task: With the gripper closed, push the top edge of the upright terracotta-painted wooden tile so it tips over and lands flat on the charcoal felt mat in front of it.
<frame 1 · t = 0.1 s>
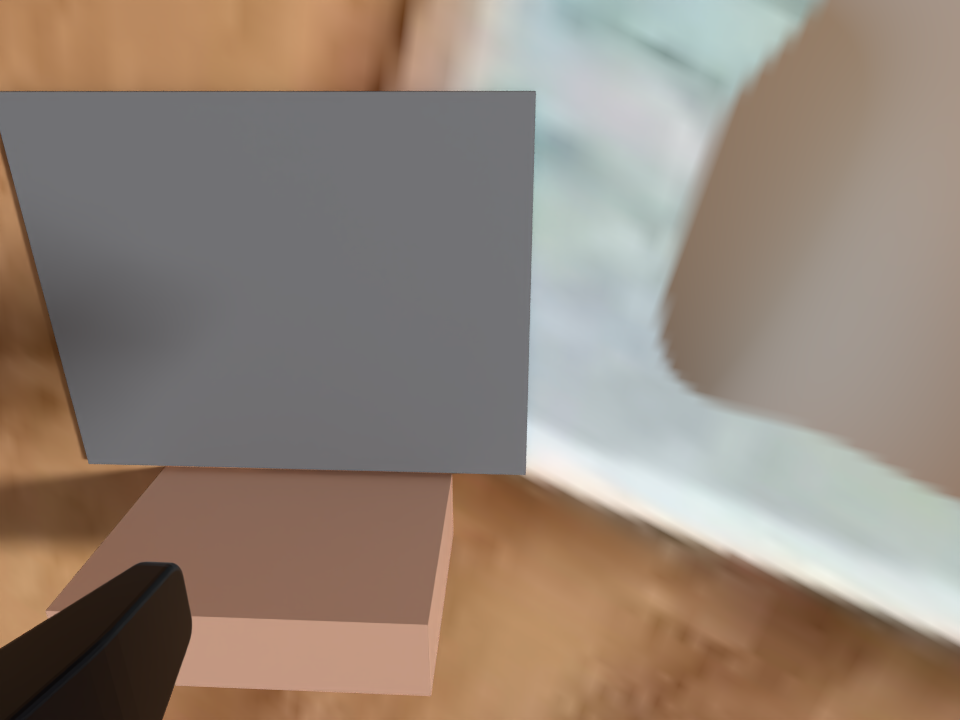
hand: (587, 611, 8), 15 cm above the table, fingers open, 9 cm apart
tile: (311, 498, 25), on the table
mat: (286, 298, 22), on the table
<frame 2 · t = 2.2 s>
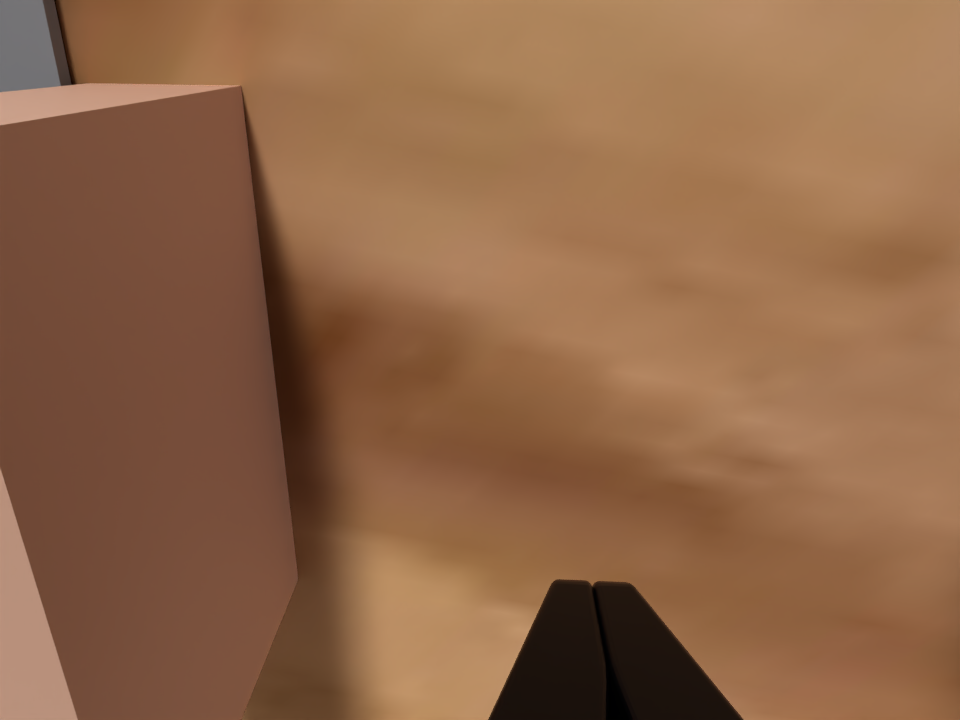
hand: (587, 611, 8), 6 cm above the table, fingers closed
tile: (210, 366, 14), on the table
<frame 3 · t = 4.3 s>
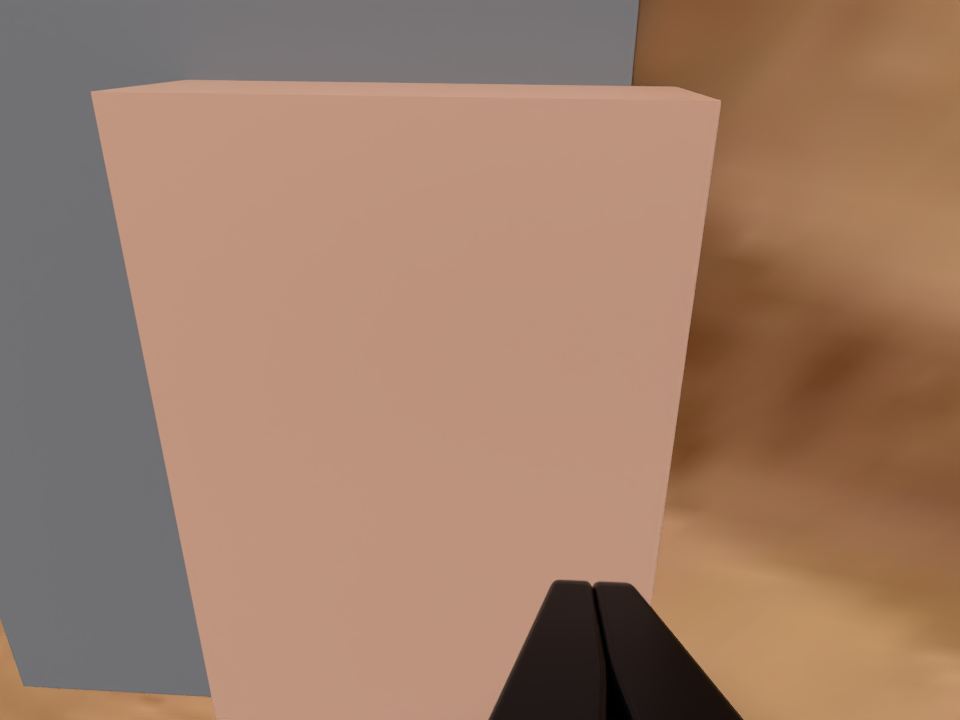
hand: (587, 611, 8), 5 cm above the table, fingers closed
tile: (652, 442, 11), point 2 cm above the table, tilted 90°, touching mat
mat: (258, 382, 13), on the table
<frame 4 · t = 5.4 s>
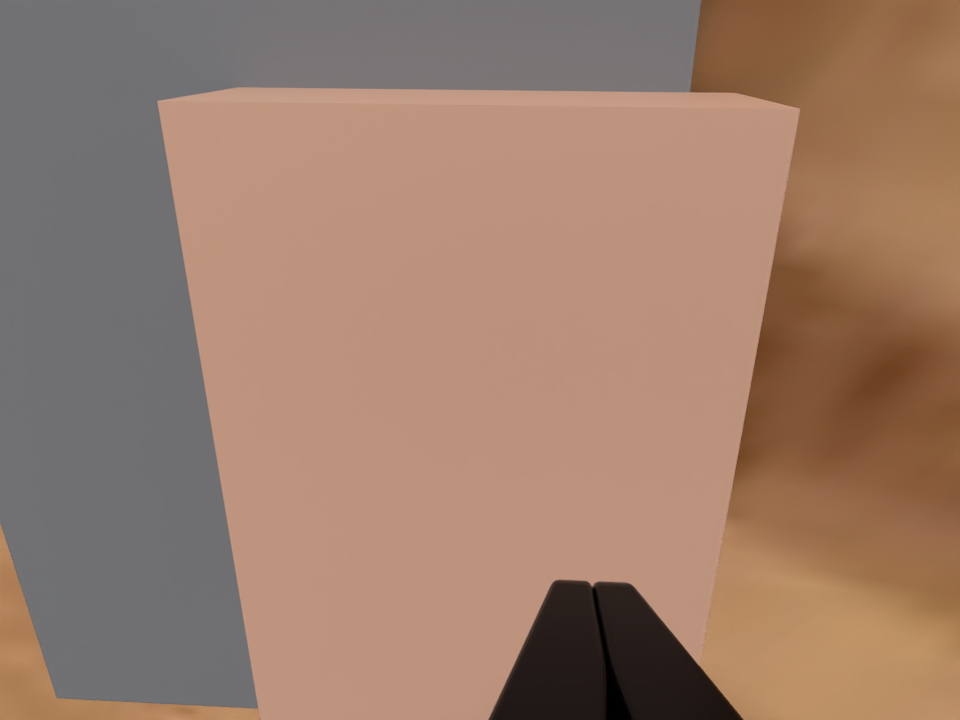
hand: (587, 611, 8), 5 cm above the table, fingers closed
tile: (707, 451, 11), point 2 cm above the table, tilted 90°, touching mat
mat: (301, 391, 13), on the table
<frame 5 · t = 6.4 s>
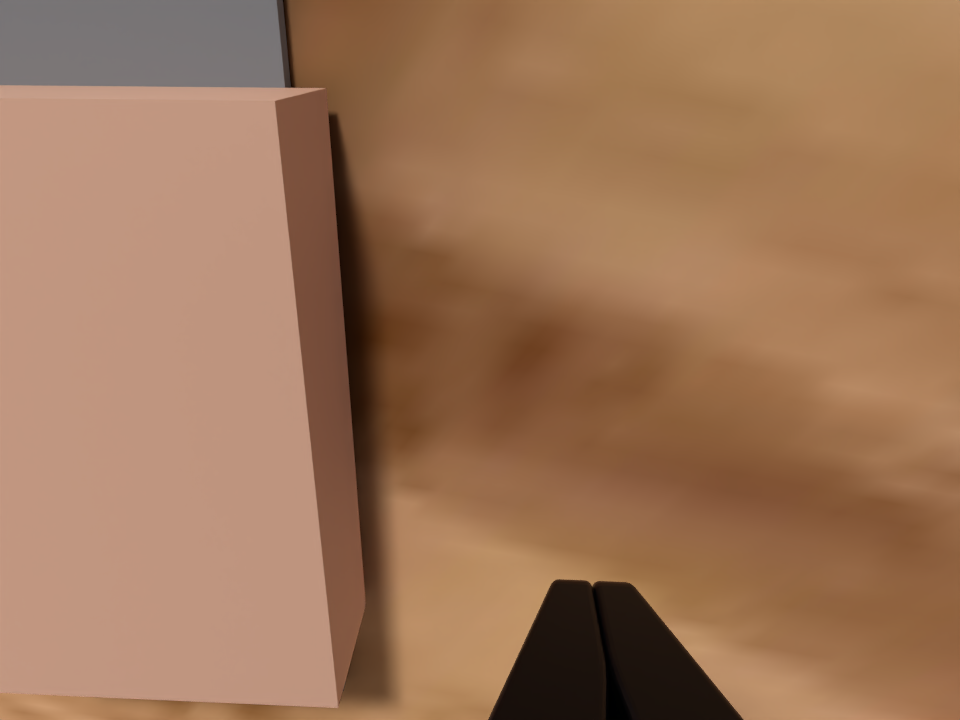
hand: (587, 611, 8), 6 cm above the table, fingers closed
tile: (332, 421, 12), point 2 cm above the table, tilted 90°, touching mat
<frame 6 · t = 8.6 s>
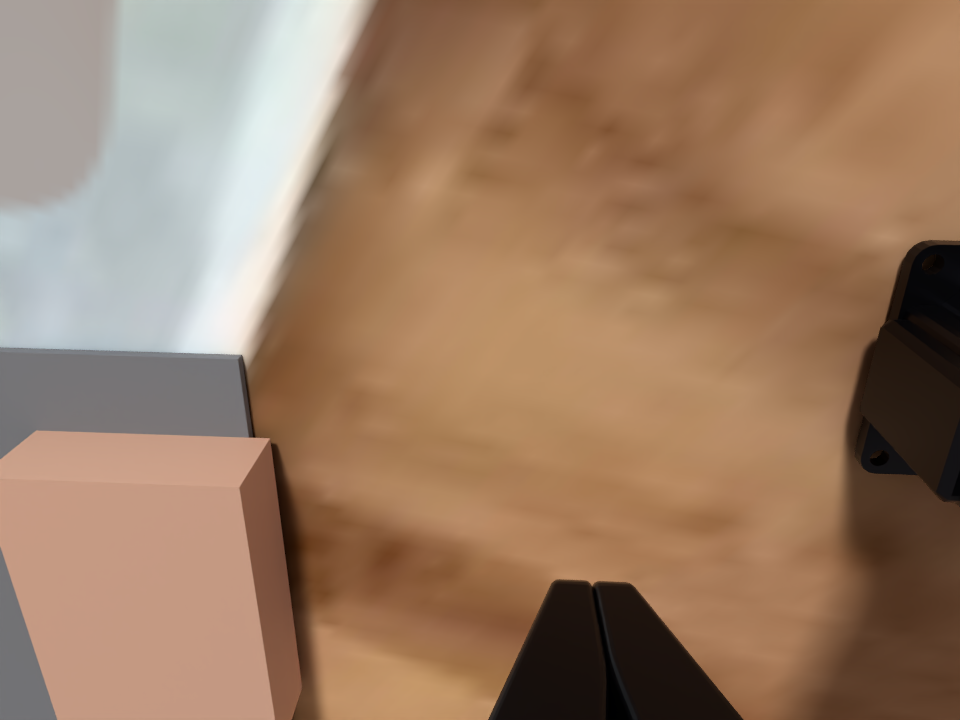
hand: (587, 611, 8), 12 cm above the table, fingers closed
tile: (275, 602, 22), point 2 cm above the table, tilted 90°, touching mat
mat: (90, 559, 23), on the table
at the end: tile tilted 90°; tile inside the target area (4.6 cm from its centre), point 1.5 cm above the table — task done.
